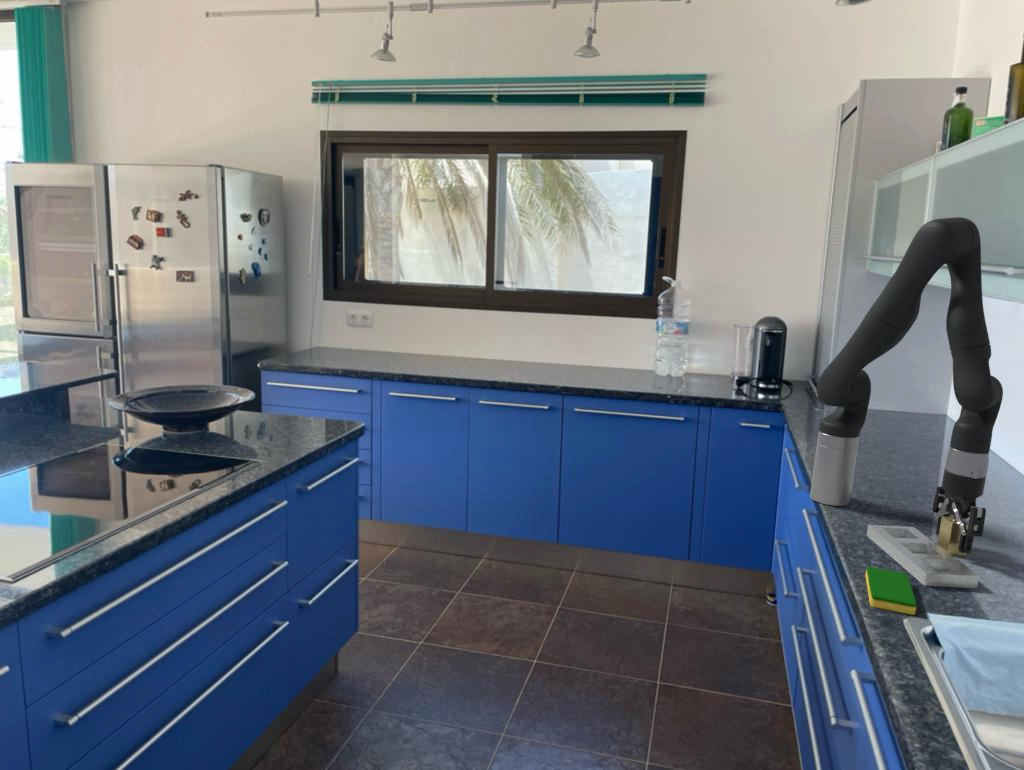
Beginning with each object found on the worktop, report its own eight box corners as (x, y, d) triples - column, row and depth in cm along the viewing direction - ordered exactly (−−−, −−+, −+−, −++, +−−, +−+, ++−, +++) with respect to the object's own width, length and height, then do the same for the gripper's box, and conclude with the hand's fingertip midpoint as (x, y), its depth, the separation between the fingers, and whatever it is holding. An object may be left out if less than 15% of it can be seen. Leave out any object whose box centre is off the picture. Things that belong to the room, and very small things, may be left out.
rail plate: (866, 535, 167) (868, 524, 166) (911, 537, 167) (913, 527, 166) (924, 585, 143) (926, 573, 143) (977, 588, 143) (979, 575, 143)
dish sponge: (869, 608, 134) (871, 595, 134) (864, 577, 147) (866, 565, 146) (914, 617, 132) (917, 604, 131) (905, 584, 144) (907, 573, 144)
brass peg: (936, 547, 162) (941, 516, 161) (955, 547, 163) (960, 517, 161) (946, 554, 159) (952, 523, 157) (965, 555, 159) (971, 524, 157)
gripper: (929, 459, 164) (917, 529, 167) (967, 480, 150) (953, 557, 153) (963, 461, 164) (951, 531, 167) (1005, 482, 150) (990, 559, 153)
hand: (952, 543), depth 160 cm, fingers open, 8 cm apart
